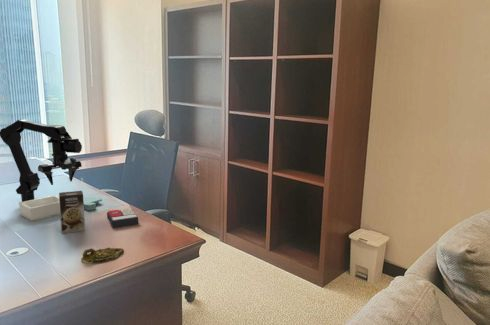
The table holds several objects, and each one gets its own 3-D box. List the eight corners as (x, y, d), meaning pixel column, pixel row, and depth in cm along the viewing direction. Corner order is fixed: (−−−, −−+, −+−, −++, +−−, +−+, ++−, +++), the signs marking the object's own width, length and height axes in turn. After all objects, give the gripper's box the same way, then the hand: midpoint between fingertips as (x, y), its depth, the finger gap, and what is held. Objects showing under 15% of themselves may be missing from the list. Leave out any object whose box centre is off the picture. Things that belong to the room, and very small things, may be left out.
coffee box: (61, 234, 154) (58, 196, 151) (61, 228, 160) (58, 192, 157) (85, 230, 159) (83, 194, 155) (84, 225, 164) (82, 189, 161)
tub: (20, 214, 174) (19, 202, 173) (55, 206, 186) (54, 195, 185) (31, 221, 167) (30, 208, 165) (67, 212, 179) (66, 200, 178)
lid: (59, 207, 188) (58, 203, 187) (89, 200, 200) (89, 195, 200) (76, 213, 177) (75, 208, 176) (107, 205, 189) (107, 200, 189)
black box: (130, 207, 179) (138, 215, 166) (131, 215, 180) (138, 224, 167) (106, 210, 174) (112, 219, 161) (107, 219, 175) (112, 229, 162)
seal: (118, 250, 145) (77, 260, 135) (117, 238, 144) (76, 248, 134) (128, 256, 138) (86, 267, 128) (127, 243, 137) (85, 254, 127)
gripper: (46, 156, 169) (49, 190, 173) (86, 151, 184) (88, 182, 187) (36, 153, 176) (39, 185, 179) (74, 148, 190) (76, 178, 194)
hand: (61, 183), depth 185 cm, fingers open, 9 cm apart
